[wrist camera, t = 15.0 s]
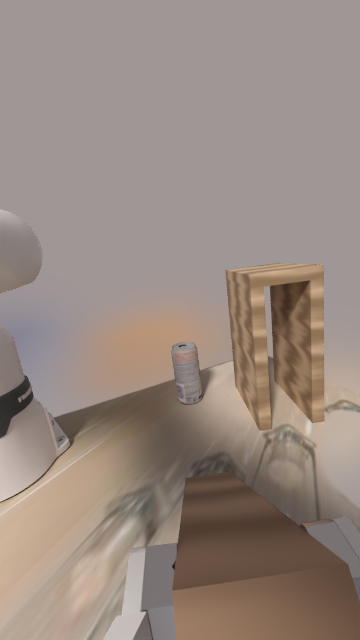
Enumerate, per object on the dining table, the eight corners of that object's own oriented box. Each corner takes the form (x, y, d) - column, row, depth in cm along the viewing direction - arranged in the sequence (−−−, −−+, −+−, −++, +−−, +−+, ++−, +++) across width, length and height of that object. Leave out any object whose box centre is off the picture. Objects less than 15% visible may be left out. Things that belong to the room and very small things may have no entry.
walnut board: (388, 696, 5) (348, 563, 6) (184, 729, 5) (171, 590, 6) (234, 497, 23) (229, 471, 24) (189, 504, 23) (186, 478, 24)
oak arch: (324, 421, 45) (323, 264, 39) (259, 430, 45) (249, 274, 39) (283, 379, 60) (278, 263, 54) (235, 385, 60) (225, 270, 54)
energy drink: (198, 389, 61) (192, 340, 58) (206, 401, 55) (199, 347, 53) (175, 395, 59) (168, 344, 57) (181, 407, 54) (173, 352, 52)
